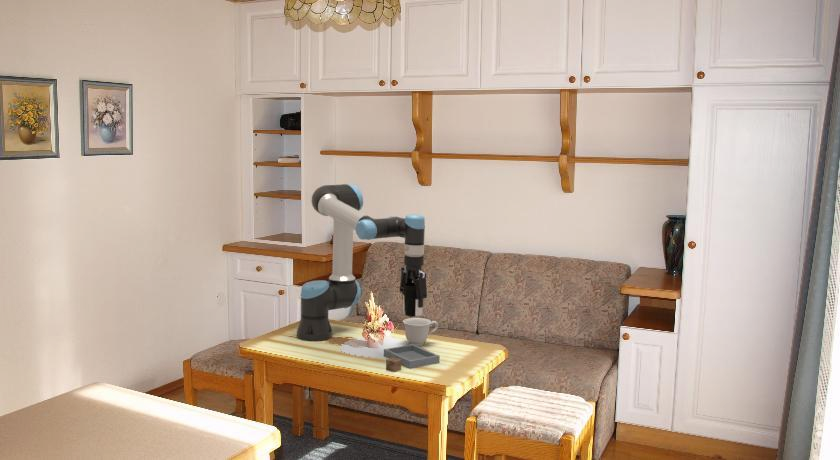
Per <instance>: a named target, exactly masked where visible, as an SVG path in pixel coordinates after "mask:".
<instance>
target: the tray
mask: <svg viewBox="0 0 840 460" xmlns="http://www.w3.org/2000/svg"><path fill="white" fill-rule="evenodd" d="M383 357H384V358H386V359H390V358H397V359H401V366H403V367H406V368H408V369H414V368H415V369H416V368H419V367H425V366H430V365H435V364H439V363H440V354H437V353H434V352H432V351H430V350H427V349H425V348H422V346H416V345H414V344H411V345H410V344H406V345H401V346H395V347H389V348H384V349H383Z"/></svg>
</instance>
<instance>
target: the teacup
mask: <svg viewBox="0 0 840 460" xmlns="http://www.w3.org/2000/svg"><path fill="white" fill-rule="evenodd" d="M402 323H403V324H404V330H405V338H406V340H407V341H408V342H409V345H411V344H414V345H416V346H418V347H422V346H424V343H425V342H426V341H427V340H428V337H429V336H430V334H432V333H434V332H436V331H437V329H438V328H439V323H438V322H437V321H436V320H431V319H428V318H422V317H408V318H406V319H403V320H402ZM433 325H435V327H434V328H433V329H431V330H430V327H433Z"/></svg>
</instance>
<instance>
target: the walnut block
mask: <svg viewBox="0 0 840 460" xmlns="http://www.w3.org/2000/svg"><path fill="white" fill-rule="evenodd" d="M385 370H386V371H387V372H388V371H389V372H392V373H396V372H398V371H399V372H400V371H401V370H402V365H401V359H397V358H390V359H389V358H386V365H385Z"/></svg>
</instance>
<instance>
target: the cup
mask: <svg viewBox="0 0 840 460" xmlns="http://www.w3.org/2000/svg"><path fill="white" fill-rule="evenodd" d="M403 288H404V303H405V311H404V314H405V316H406V317H411V318H415V317H416V316H415V309H416V298H417V294H416V286H415V284H414V282H413V281H412V284H411V285H410V286H406V283H404V284H403Z"/></svg>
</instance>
